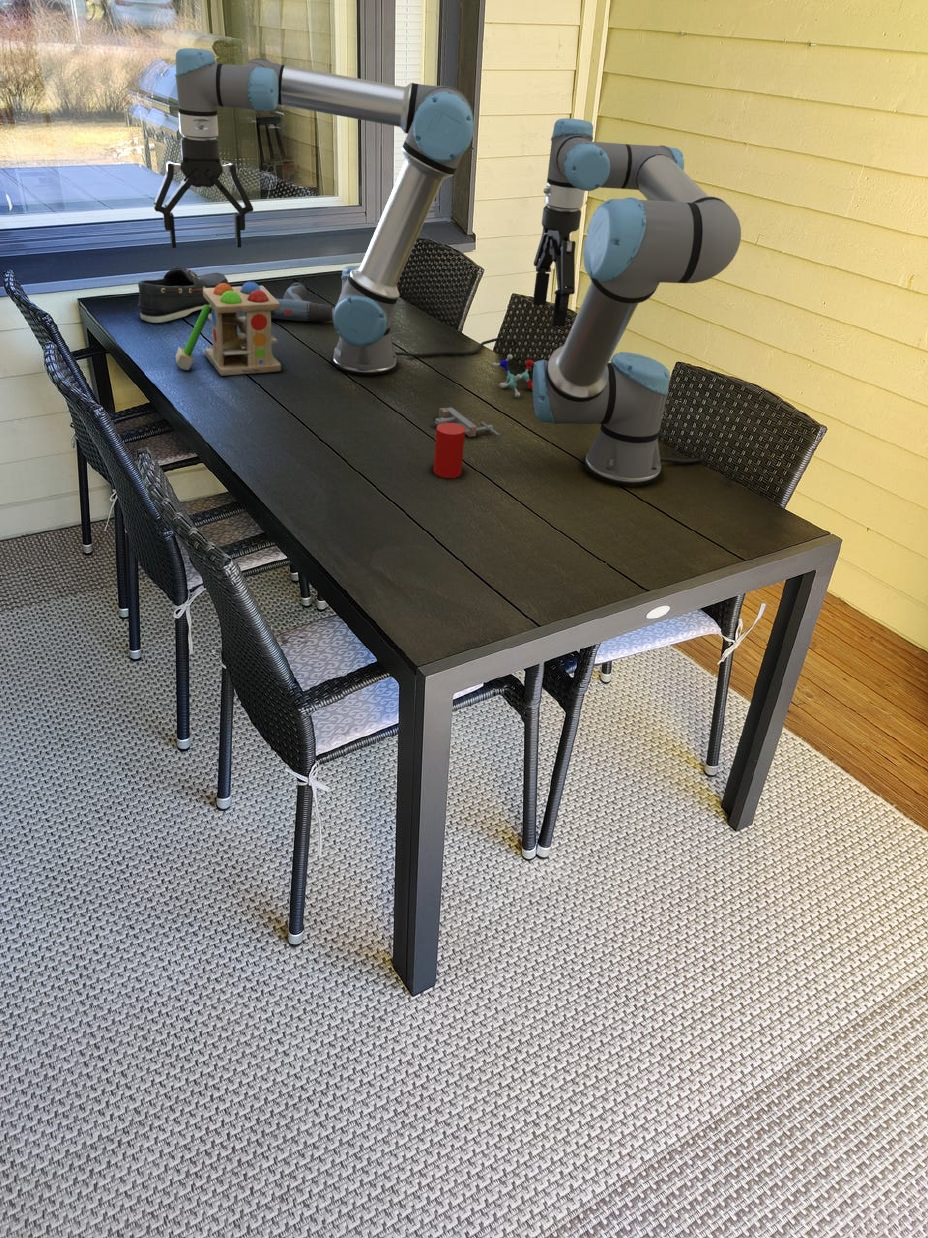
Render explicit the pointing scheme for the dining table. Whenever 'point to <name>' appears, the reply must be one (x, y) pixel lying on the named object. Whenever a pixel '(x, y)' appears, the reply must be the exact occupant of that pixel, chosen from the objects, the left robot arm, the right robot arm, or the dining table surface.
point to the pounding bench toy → (229, 347)
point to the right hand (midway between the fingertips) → (548, 314)
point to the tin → (449, 450)
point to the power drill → (301, 307)
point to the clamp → (455, 417)
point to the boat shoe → (175, 294)
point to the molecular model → (511, 377)
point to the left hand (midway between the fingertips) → (206, 246)
